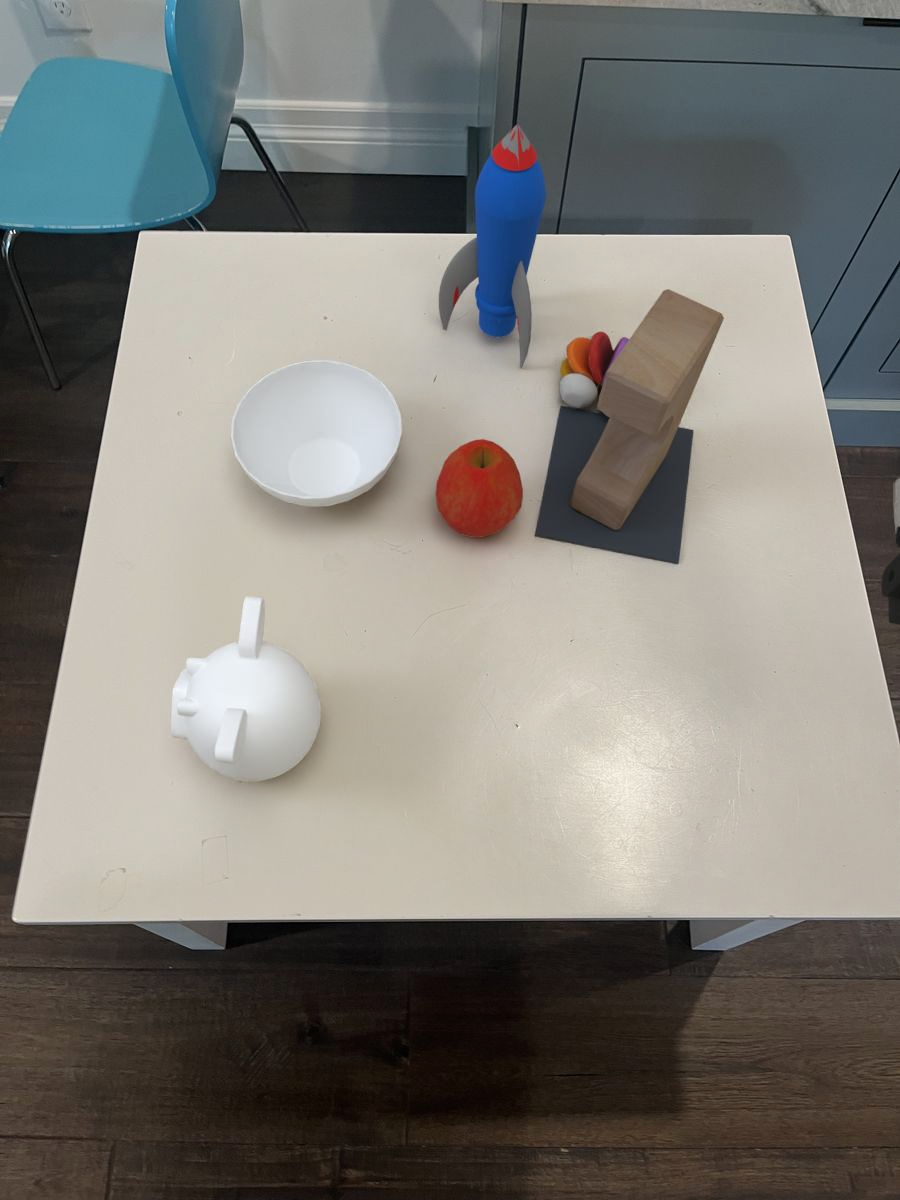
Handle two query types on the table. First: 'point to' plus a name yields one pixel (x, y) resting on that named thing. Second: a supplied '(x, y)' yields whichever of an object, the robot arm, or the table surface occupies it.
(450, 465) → the apple
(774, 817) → the table surface
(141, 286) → the table surface
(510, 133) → the toy rocket
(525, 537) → the table surface
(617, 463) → the decorative block
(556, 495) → the mat
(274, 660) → the piggy bank
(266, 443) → the bowl
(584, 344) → the rainbow petal flower
